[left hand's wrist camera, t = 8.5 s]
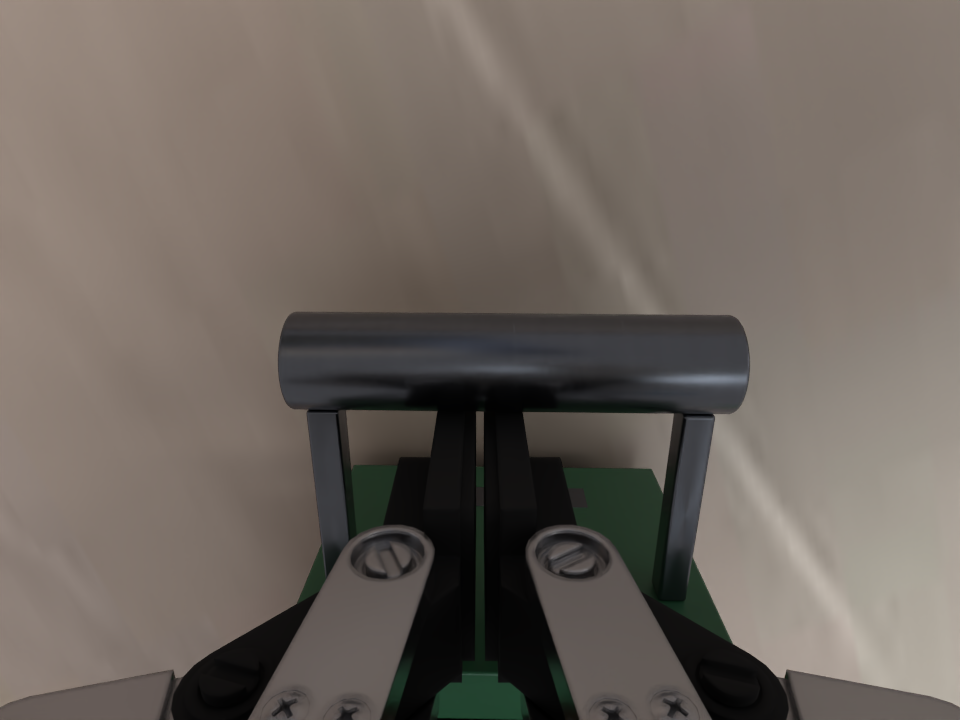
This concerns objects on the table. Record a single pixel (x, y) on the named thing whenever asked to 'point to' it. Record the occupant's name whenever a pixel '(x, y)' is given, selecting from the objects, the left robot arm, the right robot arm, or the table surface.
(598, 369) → the drawer
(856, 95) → the table surface
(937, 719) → the left robot arm
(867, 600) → the table surface
